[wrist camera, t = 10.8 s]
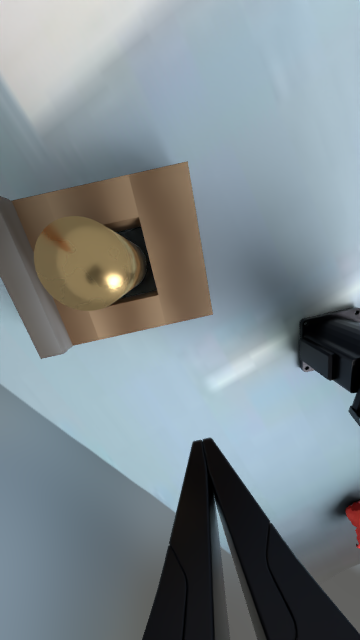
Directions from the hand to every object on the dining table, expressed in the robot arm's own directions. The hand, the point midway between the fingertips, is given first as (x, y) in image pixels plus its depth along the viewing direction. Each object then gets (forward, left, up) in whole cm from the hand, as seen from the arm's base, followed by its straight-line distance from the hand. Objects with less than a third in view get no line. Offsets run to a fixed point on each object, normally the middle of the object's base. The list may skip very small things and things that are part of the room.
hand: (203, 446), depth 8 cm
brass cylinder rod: (+4, -9, -12) cm, 16 cm away
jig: (+4, -8, -12) cm, 16 cm away
